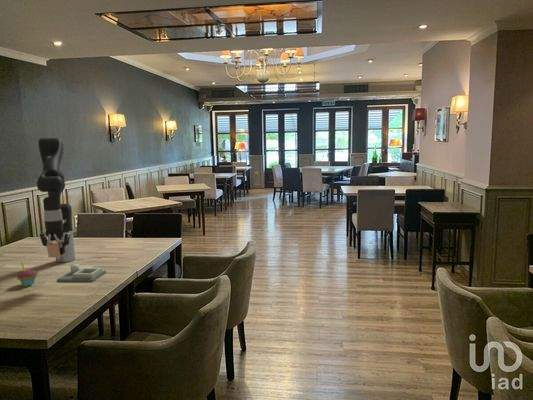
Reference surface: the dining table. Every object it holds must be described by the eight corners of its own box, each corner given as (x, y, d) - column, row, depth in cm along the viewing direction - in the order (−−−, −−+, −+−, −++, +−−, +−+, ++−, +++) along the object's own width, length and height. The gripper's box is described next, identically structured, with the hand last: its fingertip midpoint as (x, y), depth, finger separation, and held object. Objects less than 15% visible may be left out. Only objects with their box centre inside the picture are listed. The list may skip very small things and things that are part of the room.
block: (48, 257, 186) (47, 244, 186) (54, 254, 191) (53, 242, 190) (58, 257, 186) (57, 244, 185) (64, 254, 191) (63, 242, 190)
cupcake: (23, 288, 186) (21, 263, 185) (14, 285, 191) (11, 261, 189) (42, 283, 193) (39, 259, 192) (32, 280, 198) (30, 256, 196)
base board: (57, 281, 195) (56, 271, 195) (72, 272, 209) (71, 263, 208) (92, 281, 194) (91, 271, 193) (106, 272, 208) (105, 263, 207)
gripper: (33, 220, 183) (37, 256, 185) (63, 220, 182) (66, 256, 184) (43, 217, 190) (47, 252, 193) (72, 217, 189) (75, 252, 192)
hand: (56, 254), depth 189 cm, fingers closed on block, 5 cm apart
